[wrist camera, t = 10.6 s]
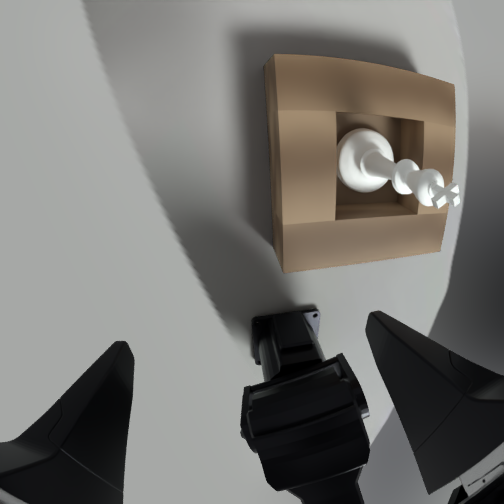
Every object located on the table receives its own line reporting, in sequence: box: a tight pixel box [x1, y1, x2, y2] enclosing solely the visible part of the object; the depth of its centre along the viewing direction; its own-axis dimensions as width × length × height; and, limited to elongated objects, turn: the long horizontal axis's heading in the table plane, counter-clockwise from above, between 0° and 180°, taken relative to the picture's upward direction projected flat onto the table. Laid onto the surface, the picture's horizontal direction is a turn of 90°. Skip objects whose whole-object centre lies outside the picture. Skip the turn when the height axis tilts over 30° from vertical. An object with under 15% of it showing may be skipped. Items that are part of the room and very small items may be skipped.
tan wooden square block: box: [264, 54, 456, 273], centre depth 18 cm, size 14×14×4 cm
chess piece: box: [337, 128, 460, 209], centre depth 15 cm, size 5×5×10 cm
